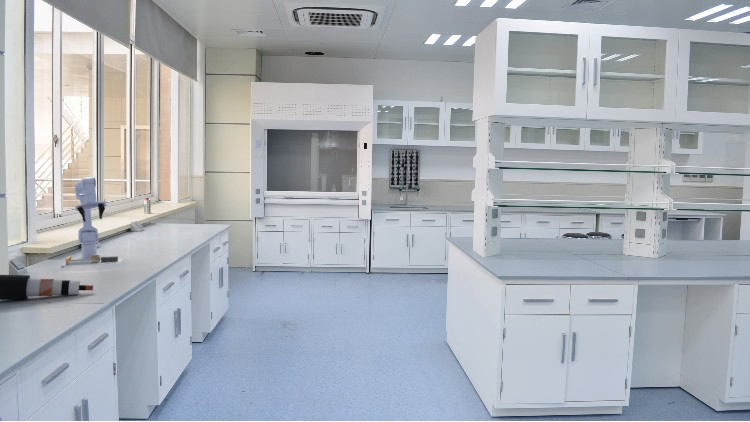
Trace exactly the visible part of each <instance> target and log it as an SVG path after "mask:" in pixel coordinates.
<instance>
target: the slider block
mask: <svg viewBox="0 0 750 422" xmlns="http://www.w3.org/2000/svg"><path fill="white" fill-rule="evenodd" d="M89 259H90V261H92V262H99V261H100V260H101V255H99V254H97V255H92V256H91V257H90V258H89Z"/></svg>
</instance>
